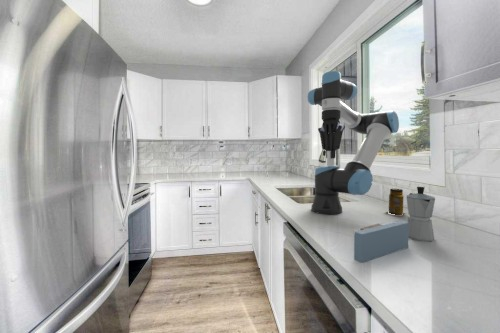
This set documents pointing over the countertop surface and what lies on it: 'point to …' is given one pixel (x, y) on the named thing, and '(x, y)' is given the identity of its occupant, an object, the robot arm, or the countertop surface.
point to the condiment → (396, 202)
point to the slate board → (380, 240)
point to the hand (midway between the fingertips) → (330, 166)
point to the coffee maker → (420, 216)
